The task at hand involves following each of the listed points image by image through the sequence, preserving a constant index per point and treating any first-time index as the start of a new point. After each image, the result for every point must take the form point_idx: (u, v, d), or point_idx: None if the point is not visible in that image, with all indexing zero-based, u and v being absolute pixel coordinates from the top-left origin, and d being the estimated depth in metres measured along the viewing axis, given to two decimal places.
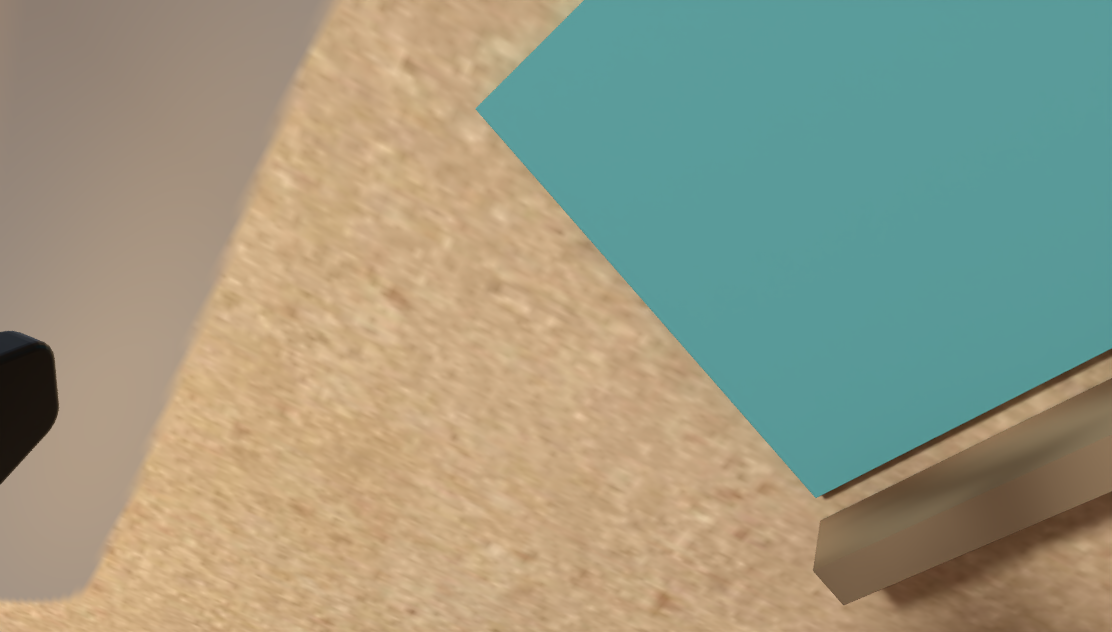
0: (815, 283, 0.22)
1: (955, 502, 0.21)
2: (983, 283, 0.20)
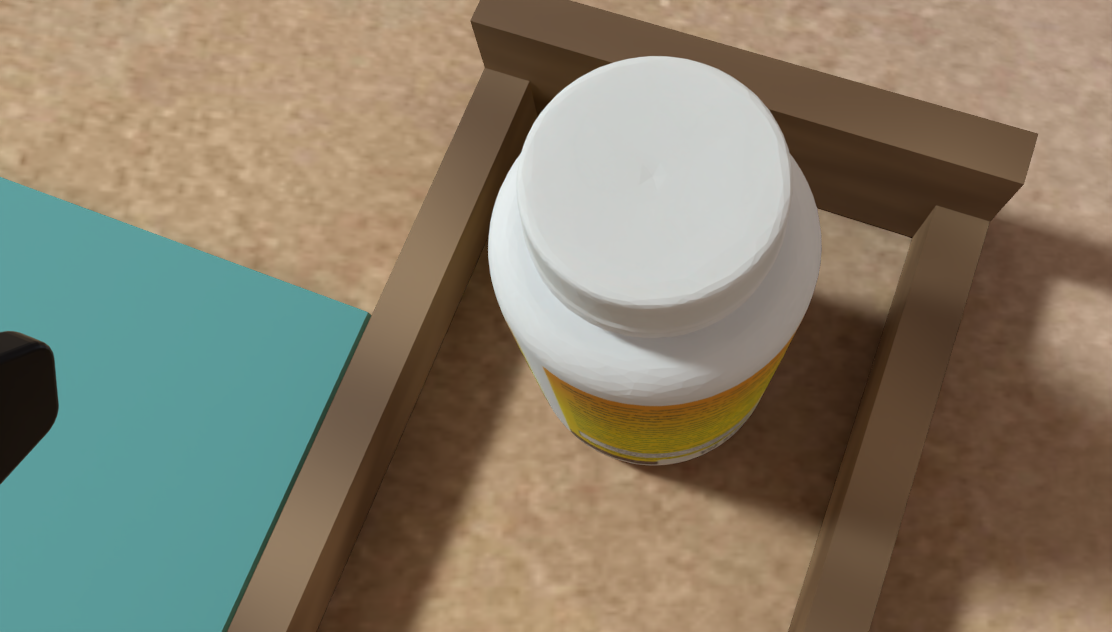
0: (27, 601, 0.22)
1: None
2: (156, 517, 0.23)
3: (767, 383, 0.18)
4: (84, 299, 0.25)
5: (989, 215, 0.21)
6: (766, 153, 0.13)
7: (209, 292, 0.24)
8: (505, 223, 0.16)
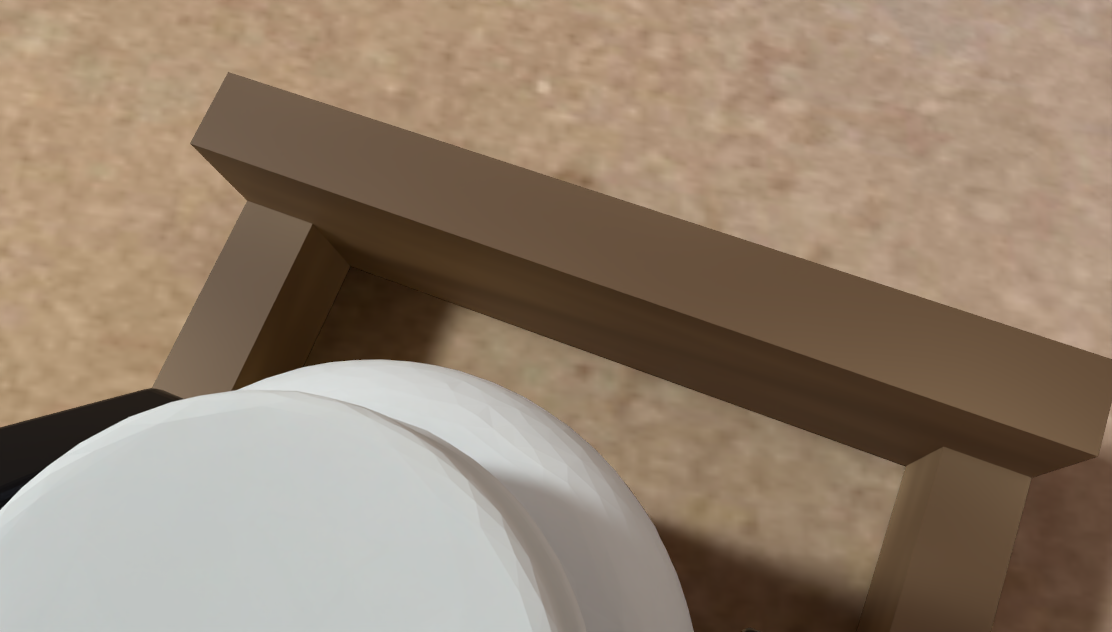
0: None
1: None
2: None
3: None
4: None
5: (1031, 472, 0.13)
6: None
7: None
8: None
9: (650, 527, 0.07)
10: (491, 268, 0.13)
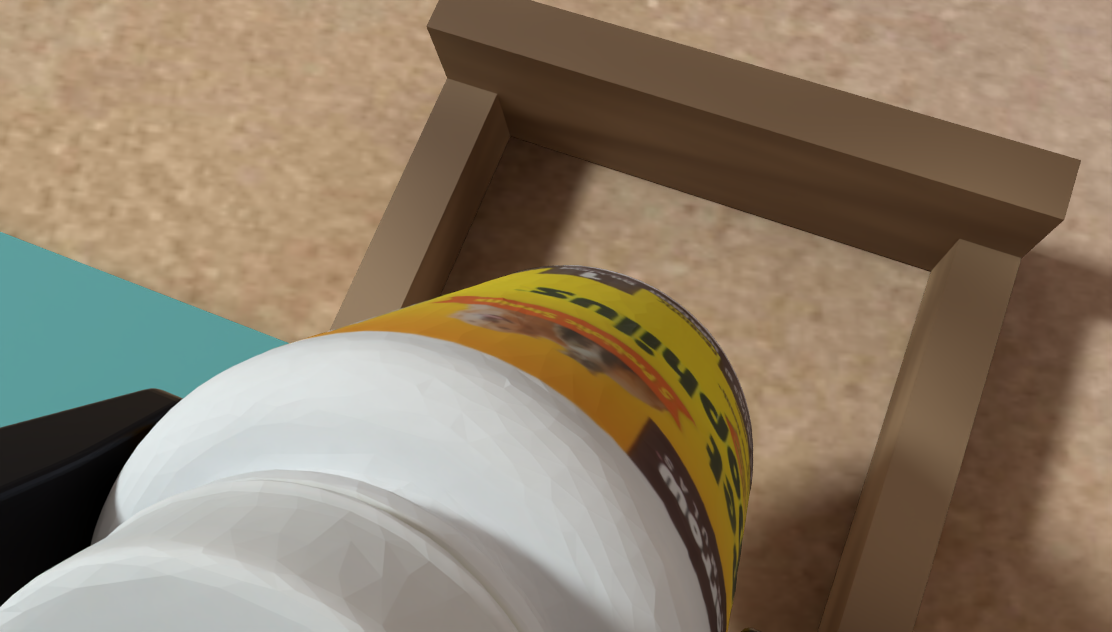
0: None
1: None
2: None
3: None
4: (1, 336, 0.22)
5: (1021, 251, 0.18)
6: None
7: (140, 329, 0.22)
8: None
9: (649, 525, 0.07)
10: (638, 115, 0.19)
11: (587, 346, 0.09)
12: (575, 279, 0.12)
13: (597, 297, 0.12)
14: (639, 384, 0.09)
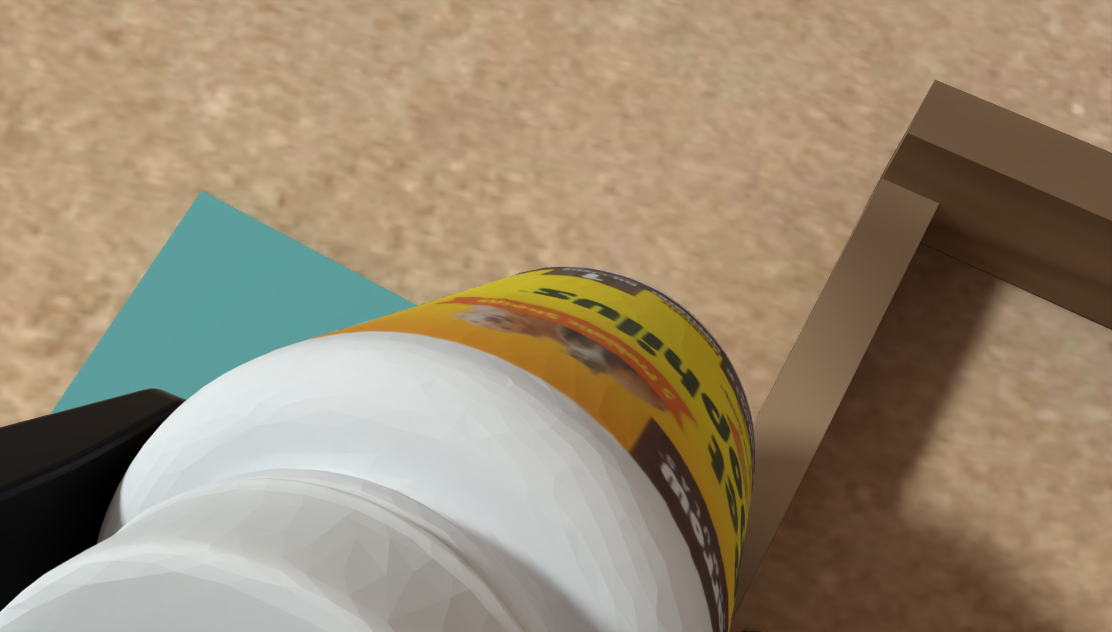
0: None
1: None
2: None
3: None
4: None
5: None
6: None
7: None
8: None
9: (651, 523, 0.07)
10: None
11: (590, 345, 0.09)
12: (577, 280, 0.13)
13: (599, 298, 0.12)
14: (641, 384, 0.09)
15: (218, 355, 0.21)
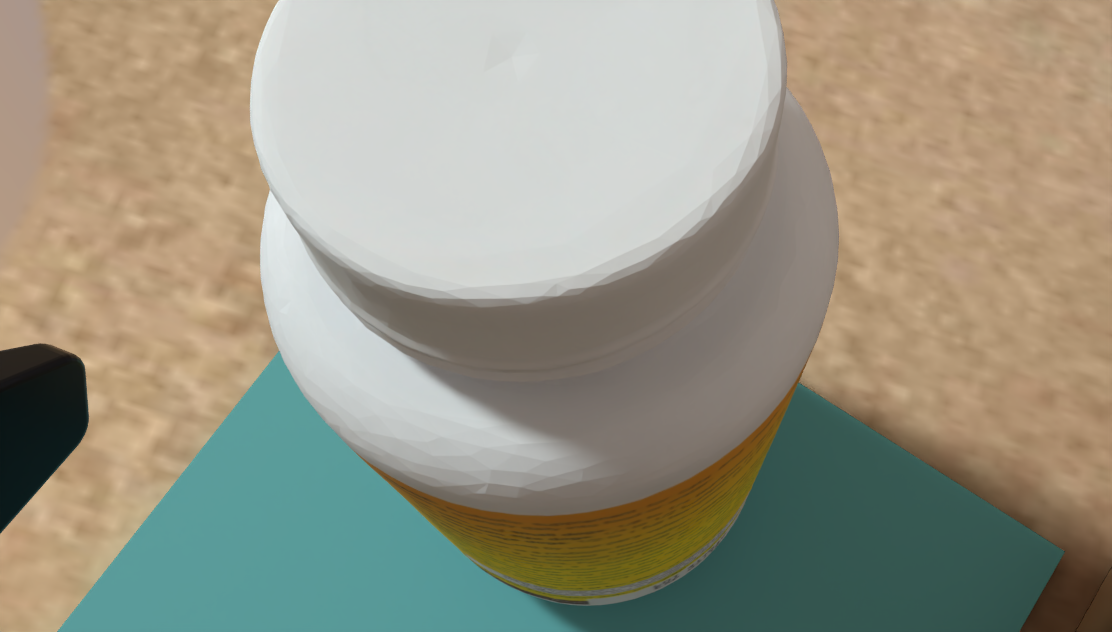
0: None
1: None
2: None
3: (750, 480, 0.11)
4: None
5: None
6: (733, 12, 0.07)
7: (809, 452, 0.16)
8: None
9: None
10: None
11: None
12: None
13: None
14: None
15: None
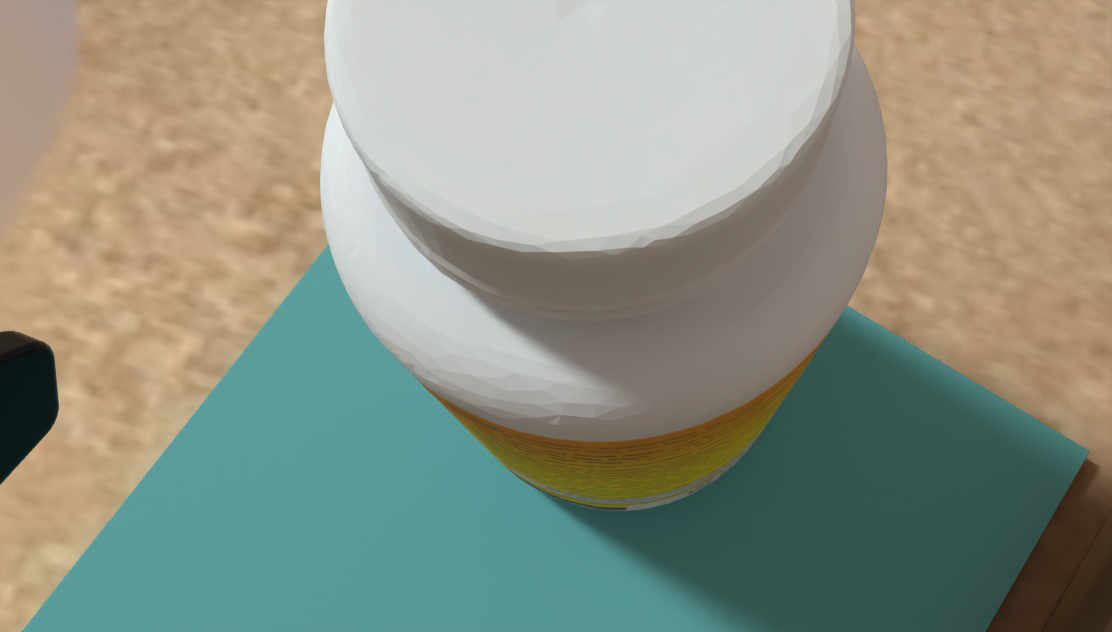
0: None
1: None
2: None
3: None
4: None
5: None
6: None
7: (835, 359, 0.16)
8: (344, 131, 0.09)
9: None
10: None
11: None
12: None
13: None
14: None
15: None
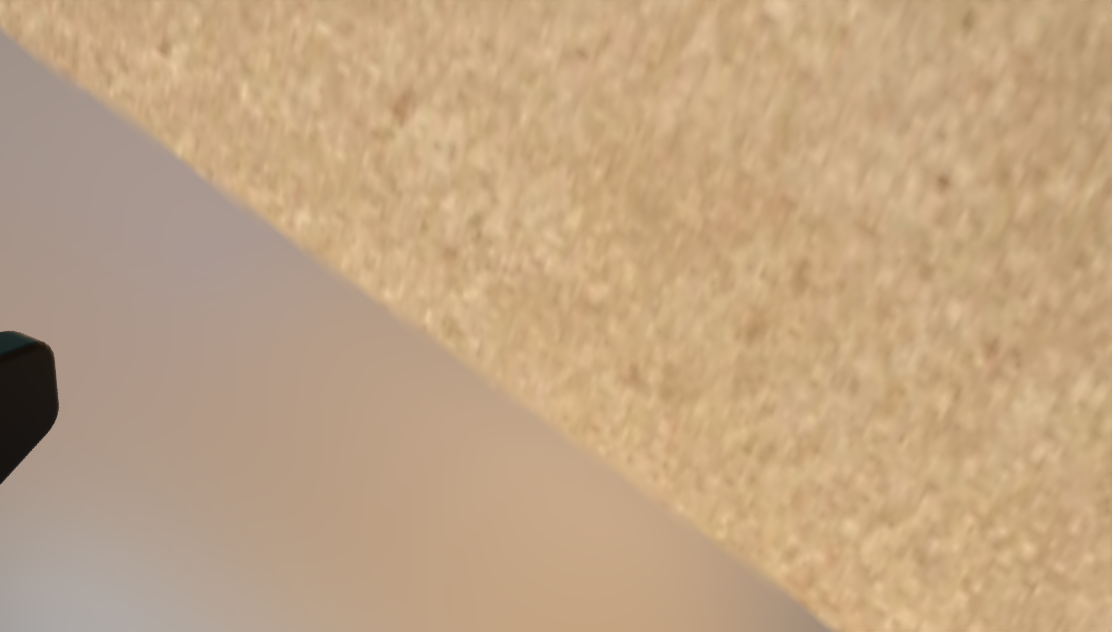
0: None
1: None
2: None
3: None
4: None
5: None
6: None
7: None
8: None
9: None
10: None
11: None
12: None
13: None
14: None
15: None
